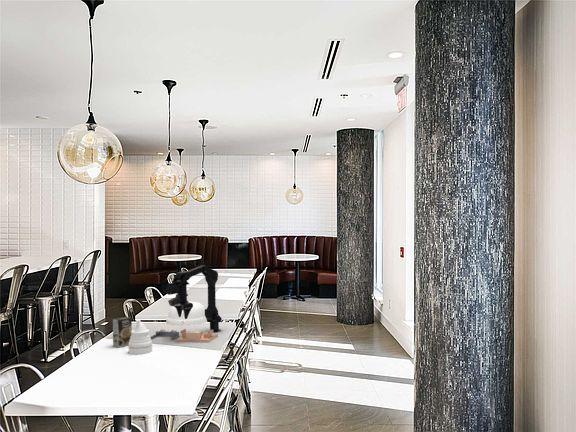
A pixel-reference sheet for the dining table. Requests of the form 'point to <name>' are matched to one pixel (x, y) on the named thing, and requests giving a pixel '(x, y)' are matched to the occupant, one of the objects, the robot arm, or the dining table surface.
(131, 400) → the dining table surface
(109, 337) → the dining table surface
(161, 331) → the glasses frame
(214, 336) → the display stand
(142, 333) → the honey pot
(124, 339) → the coffee box
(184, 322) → the dome cover
